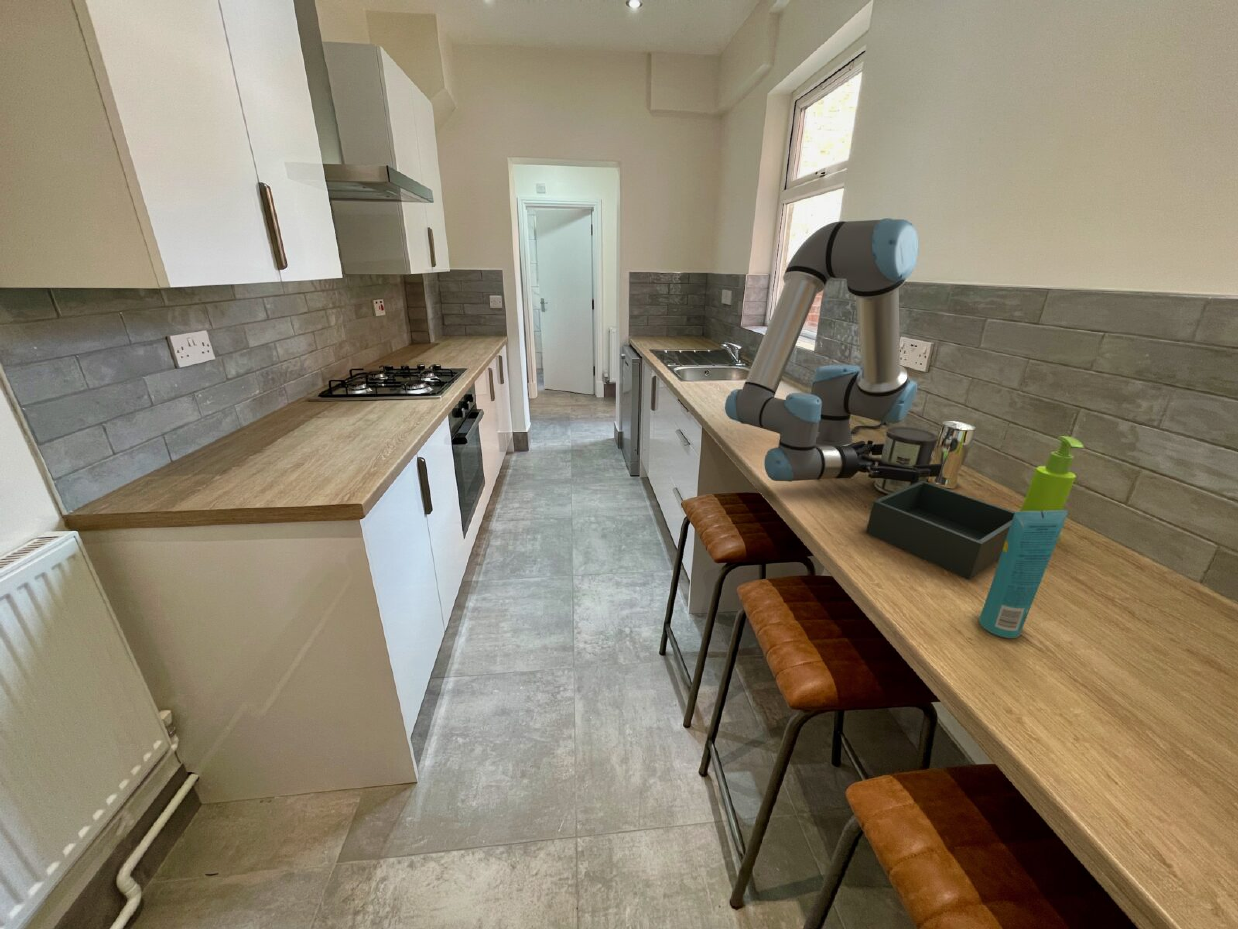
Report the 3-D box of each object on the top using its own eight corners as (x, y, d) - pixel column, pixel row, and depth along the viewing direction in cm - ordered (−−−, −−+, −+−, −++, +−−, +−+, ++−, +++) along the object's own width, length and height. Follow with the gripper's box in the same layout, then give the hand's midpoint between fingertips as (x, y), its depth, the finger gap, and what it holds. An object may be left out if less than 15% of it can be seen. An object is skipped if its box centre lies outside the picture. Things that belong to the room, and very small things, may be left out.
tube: (1004, 614, 74) (1048, 501, 67) (1035, 636, 70) (1085, 518, 63) (962, 619, 73) (1002, 504, 66) (990, 642, 69) (1036, 522, 61)
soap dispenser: (1022, 537, 96) (1059, 442, 89) (1010, 522, 102) (1043, 431, 95) (1059, 543, 94) (1099, 446, 87) (1044, 527, 100) (1080, 435, 93)
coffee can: (913, 482, 120) (928, 428, 115) (929, 500, 111) (946, 442, 106) (868, 478, 122) (881, 424, 117) (880, 496, 113) (894, 438, 107)
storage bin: (913, 509, 107) (921, 480, 104) (1013, 548, 92) (1026, 515, 90) (865, 532, 97) (873, 501, 94) (969, 579, 83) (981, 544, 80)
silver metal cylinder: (953, 491, 116) (971, 431, 110) (921, 482, 120) (937, 424, 115) (962, 484, 120) (980, 425, 114) (931, 475, 125) (947, 419, 119)
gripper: (803, 457, 124) (879, 454, 127) (863, 501, 101) (954, 496, 104) (808, 429, 121) (886, 427, 124) (871, 468, 98) (964, 464, 101)
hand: (917, 458), depth 114 cm, fingers open, 13 cm apart
